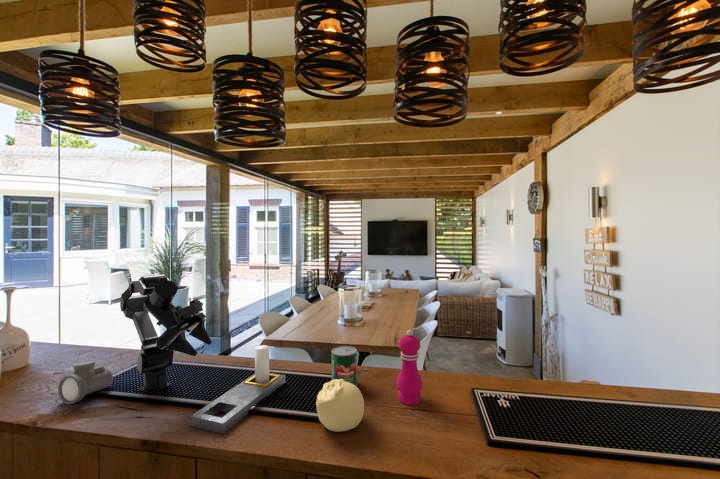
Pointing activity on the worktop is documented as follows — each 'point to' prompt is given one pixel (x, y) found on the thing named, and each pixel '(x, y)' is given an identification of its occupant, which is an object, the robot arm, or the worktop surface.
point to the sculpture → (340, 405)
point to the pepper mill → (409, 370)
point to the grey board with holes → (234, 404)
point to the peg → (262, 364)
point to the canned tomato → (344, 364)
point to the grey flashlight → (84, 381)
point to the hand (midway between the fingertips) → (203, 349)
